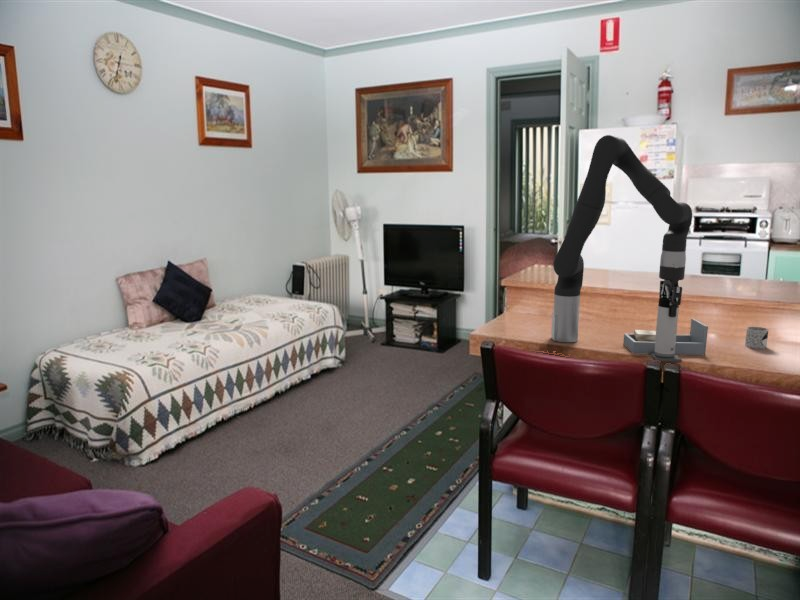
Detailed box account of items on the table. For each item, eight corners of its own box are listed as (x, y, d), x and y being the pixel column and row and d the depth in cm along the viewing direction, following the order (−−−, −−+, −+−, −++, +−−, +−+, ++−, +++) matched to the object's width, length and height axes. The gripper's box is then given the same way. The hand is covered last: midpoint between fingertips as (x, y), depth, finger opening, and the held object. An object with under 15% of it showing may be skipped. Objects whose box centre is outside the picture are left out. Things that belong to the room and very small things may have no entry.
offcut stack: (635, 350, 213) (636, 334, 211) (632, 345, 219) (634, 329, 218) (660, 352, 211) (661, 335, 210) (656, 347, 217) (658, 330, 216)
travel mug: (677, 358, 199) (682, 298, 196) (656, 357, 201) (661, 297, 197) (673, 353, 205) (678, 295, 202) (652, 352, 207) (657, 294, 203)
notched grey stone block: (766, 350, 213) (768, 331, 211) (744, 347, 216) (746, 329, 215) (766, 343, 221) (768, 326, 220) (745, 341, 224) (747, 323, 223)
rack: (632, 353, 209) (634, 325, 207) (623, 344, 221) (625, 317, 219) (705, 354, 207) (708, 326, 205) (691, 345, 219) (694, 318, 217)
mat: (656, 361, 200) (656, 358, 199) (648, 354, 207) (648, 352, 207) (681, 361, 199) (681, 359, 199) (672, 354, 207) (673, 352, 207)
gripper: (653, 261, 205) (649, 309, 208) (668, 267, 191) (663, 319, 194) (676, 261, 204) (672, 310, 207) (693, 267, 190) (688, 319, 193)
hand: (668, 314), depth 200 cm, fingers open, 6 cm apart
